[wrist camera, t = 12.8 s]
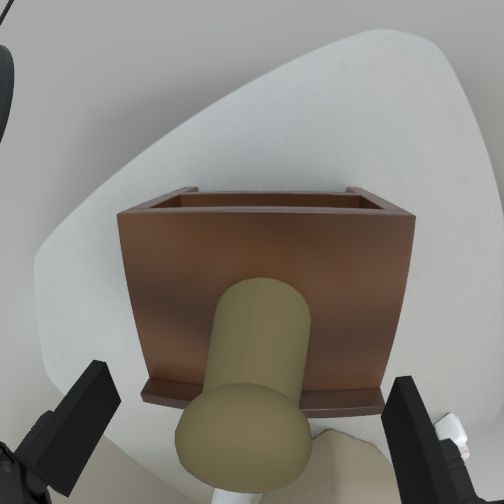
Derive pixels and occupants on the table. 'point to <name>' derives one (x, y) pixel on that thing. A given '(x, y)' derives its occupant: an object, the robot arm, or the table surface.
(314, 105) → the table surface
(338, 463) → the flower pot
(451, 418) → the salt shaker
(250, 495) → the white cup
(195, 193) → the miniature wooden nightstand
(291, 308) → the olive pawn
